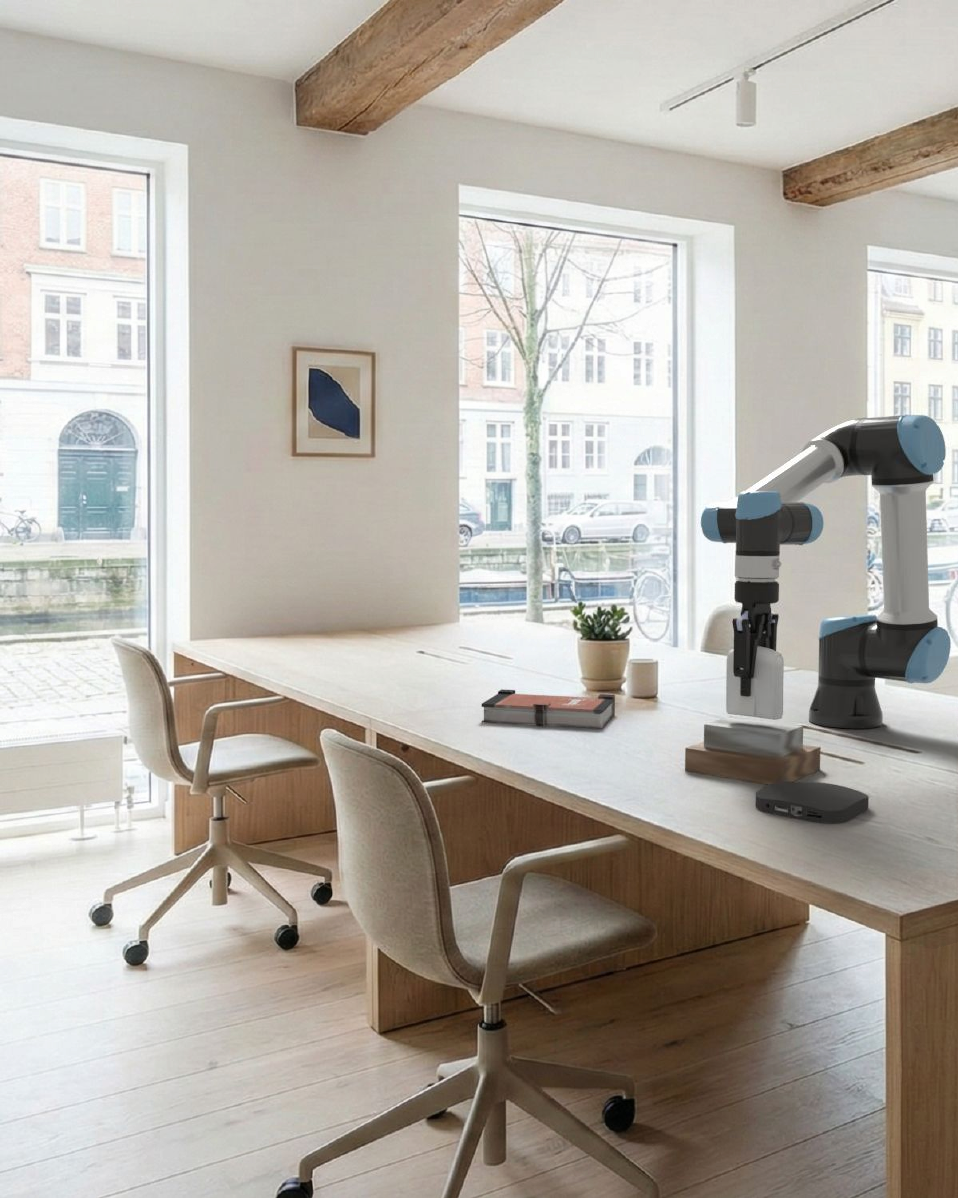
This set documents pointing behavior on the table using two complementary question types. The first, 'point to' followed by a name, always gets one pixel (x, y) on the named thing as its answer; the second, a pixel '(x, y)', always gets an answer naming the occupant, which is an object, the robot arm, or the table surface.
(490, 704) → the book
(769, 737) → the grey block on wood
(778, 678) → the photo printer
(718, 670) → the table surface
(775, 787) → the media streaming box
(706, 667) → the table surface
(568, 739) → the table surface
